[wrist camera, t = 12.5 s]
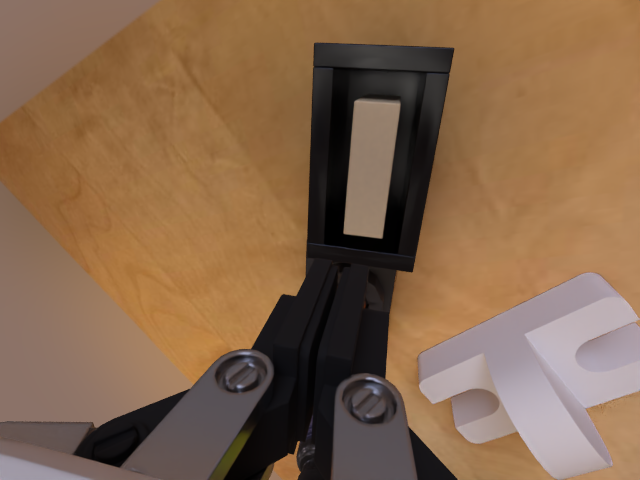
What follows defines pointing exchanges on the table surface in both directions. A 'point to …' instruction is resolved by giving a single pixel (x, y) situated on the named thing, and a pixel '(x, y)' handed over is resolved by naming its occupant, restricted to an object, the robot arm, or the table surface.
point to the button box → (371, 285)
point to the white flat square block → (370, 164)
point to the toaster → (409, 155)
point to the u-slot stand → (541, 373)
